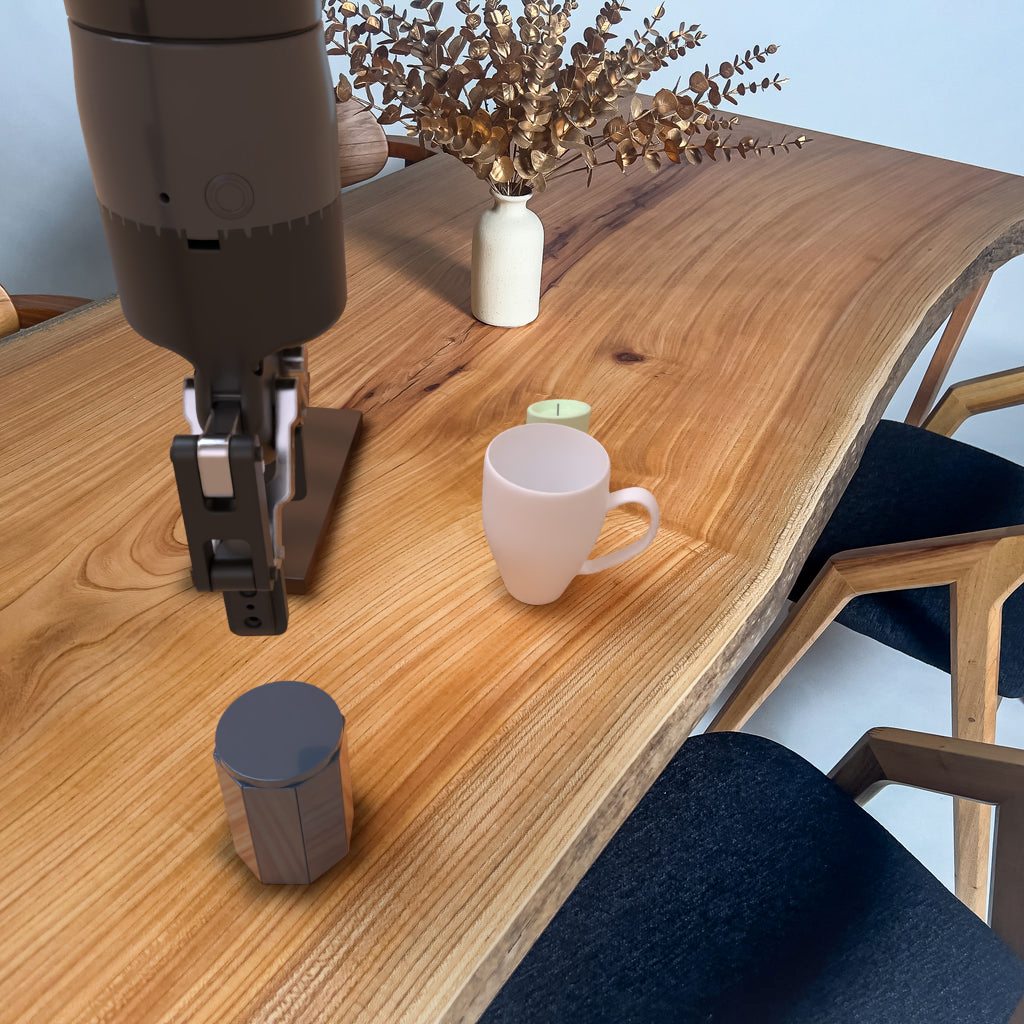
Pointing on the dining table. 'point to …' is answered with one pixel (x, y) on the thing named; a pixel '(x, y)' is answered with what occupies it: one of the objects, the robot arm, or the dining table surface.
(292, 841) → the cup
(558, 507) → the mug
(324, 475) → the cup stand
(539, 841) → the dining table surface
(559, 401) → the candle
